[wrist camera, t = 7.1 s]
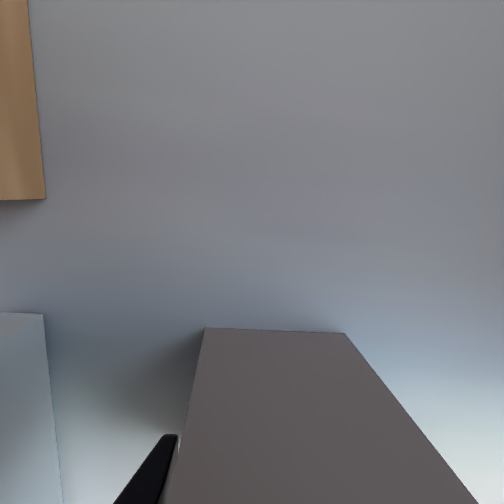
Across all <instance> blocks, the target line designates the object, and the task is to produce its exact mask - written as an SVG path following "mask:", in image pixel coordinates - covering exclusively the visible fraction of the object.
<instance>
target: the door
mask: <svg viewBox="0 0 504 504" xmlns="http://www.w3.org/2000/svg"><path fill="white" fill-rule="evenodd" d="M0 504H63V496H62V486H61V477H60V468H59V459H58V450H57V440H56V431H55V422H54V413H53V404H52V394H51V385H50V376H49V367H48V358H47V348H46V339H45V330H44V321H43V314H32V313H11V312H0Z"/></svg>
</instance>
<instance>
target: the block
mask: <svg viewBox="0 0 504 504" xmlns="http://www.w3.org/2000/svg"><path fill="white" fill-rule="evenodd" d="M168 504H478V502H477V501H476V500H475V498H474V497H473V496H472V495H471V493H470V492H469V491H468V490H467V488H466V487H465V486H464V484H463V483H462V482H461V481H460V479H459V478H458V477H457V476H456V474H455V473H454V472H453V470H452V469H451V468H450V467H449V465H448V464H447V463H446V462H445V460H444V459H443V458H442V456H441V455H440V454H439V453H438V451H437V450H436V449H435V448H434V446H433V445H432V444H431V442H430V441H429V440H428V439H427V437H426V436H425V435H424V434H423V432H422V431H421V430H420V428H419V427H418V426H417V425H416V423H415V422H414V421H413V420H412V418H411V417H410V416H409V414H408V413H407V412H406V411H405V409H404V408H403V407H402V406H401V404H400V403H399V402H398V400H397V399H396V398H395V397H394V395H393V394H392V393H391V392H390V390H389V389H388V388H387V386H386V385H385V384H384V383H383V381H382V380H381V379H380V378H379V376H378V375H377V374H376V372H375V371H374V370H373V369H372V367H371V366H370V365H369V364H368V362H367V361H366V360H365V358H364V357H363V356H362V355H361V353H360V352H359V351H358V350H357V348H356V347H355V346H354V344H353V343H352V342H351V341H350V339H349V338H348V337H347V336H346V334H345V333H322V332H298V331H275V330H251V329H227V328H205V331H204V335H203V340H202V345H201V349H200V354H199V359H198V364H197V368H196V373H195V378H194V382H193V387H192V392H191V396H190V401H189V406H188V411H187V415H186V420H185V425H184V429H183V434H182V439H181V443H180V448H179V453H178V458H177V462H176V467H175V472H174V476H173V481H172V486H171V490H170V495H169V500H168Z"/></svg>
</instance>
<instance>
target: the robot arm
mask: <svg viewBox="0 0 504 504" xmlns="http://www.w3.org/2000/svg"><path fill="white" fill-rule="evenodd" d="M177 458H178V435H177V434H165V435H163V436H162V437H161V439H160V440H159V441H158V443H157V444H156V445H155V447H154V448H153V450H152V451H151V452H150V454H149V455H148V456H147V458H146V459H145V461H144V462H143V463H142V465H141V466H140V467H139V469H138V470H137V472H136V473H135V474H134V476H133V477H132V478H131V480H130V481H129V483H128V484H127V485H126V487H125V488H124V489H123V491H122V492H121V494H120V495H119V496H118V498H117V499H116V500H115V502H114V503H113V504H168V500H169V495H170V490H171V486H172V481H173V476H174V472H175V467H176V462H177Z"/></svg>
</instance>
